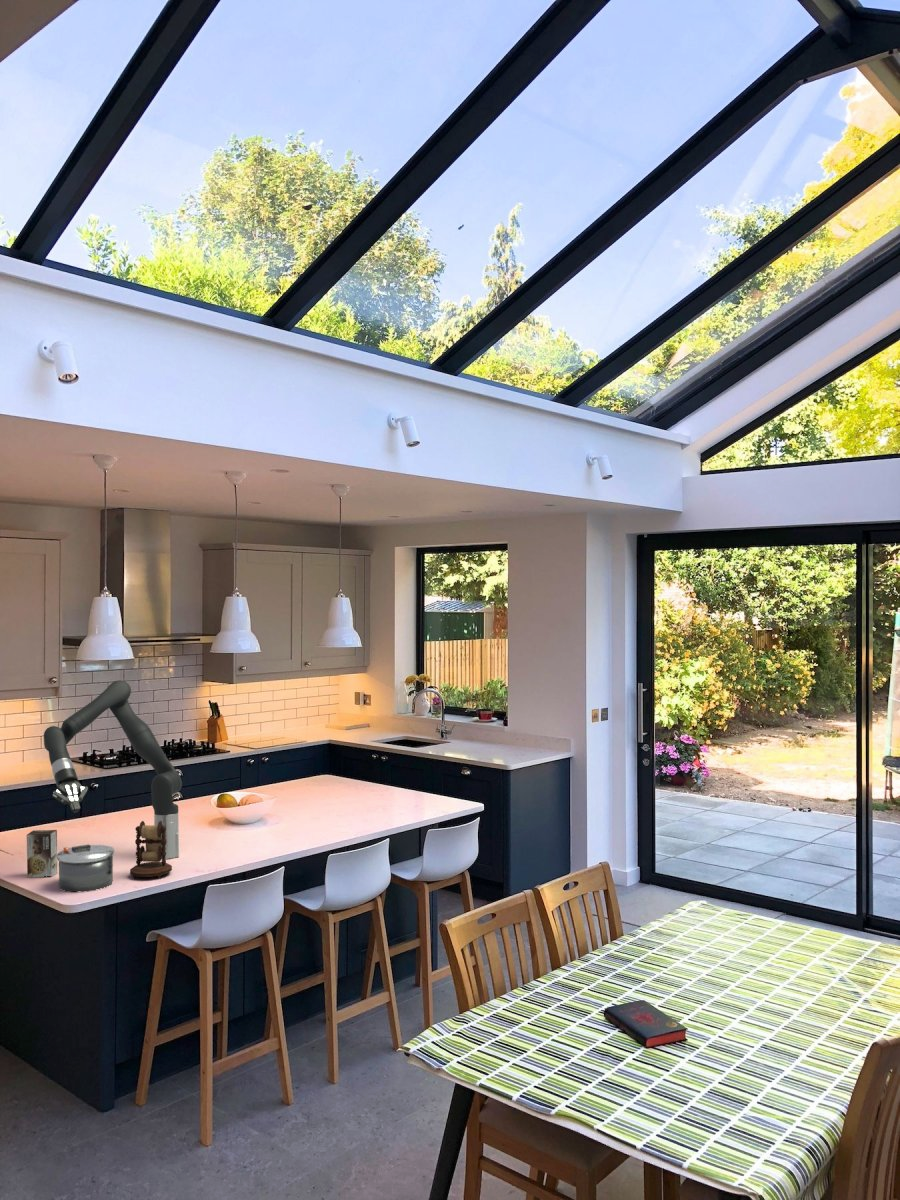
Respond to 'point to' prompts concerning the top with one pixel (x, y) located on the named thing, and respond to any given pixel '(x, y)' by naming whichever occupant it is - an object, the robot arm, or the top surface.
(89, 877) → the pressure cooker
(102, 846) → the lid
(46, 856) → the coffee box
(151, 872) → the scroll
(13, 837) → the top surface
